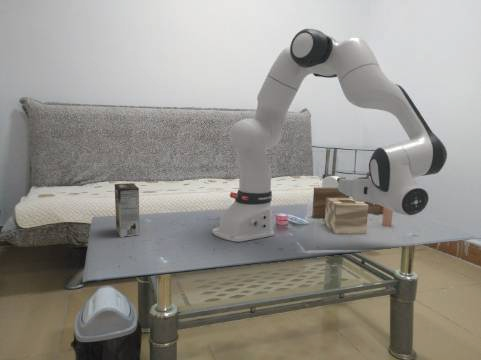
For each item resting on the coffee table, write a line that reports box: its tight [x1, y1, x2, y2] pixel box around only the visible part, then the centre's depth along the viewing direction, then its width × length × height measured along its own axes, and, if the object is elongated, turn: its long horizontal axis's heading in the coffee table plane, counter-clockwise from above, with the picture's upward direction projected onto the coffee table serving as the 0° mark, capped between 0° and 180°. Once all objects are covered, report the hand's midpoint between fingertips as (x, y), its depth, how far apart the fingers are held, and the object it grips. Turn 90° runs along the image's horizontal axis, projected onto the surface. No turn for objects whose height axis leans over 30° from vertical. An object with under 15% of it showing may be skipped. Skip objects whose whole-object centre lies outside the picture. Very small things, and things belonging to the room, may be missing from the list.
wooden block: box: [364, 171, 384, 215], centre depth 157 cm, size 4×11×18 cm, turn 114°
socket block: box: [324, 197, 369, 234], centre depth 130 cm, size 11×11×10 cm
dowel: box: [381, 207, 394, 227], centre depth 136 cm, size 3×3×14 cm
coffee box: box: [114, 183, 140, 238], centre depth 121 cm, size 9×6×16 cm
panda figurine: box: [321, 173, 347, 188], centre depth 163 cm, size 12×11×15 cm
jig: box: [311, 187, 351, 219], centre depth 134 cm, size 23×16×13 cm
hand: (362, 181), depth 117 cm, fingers closed
